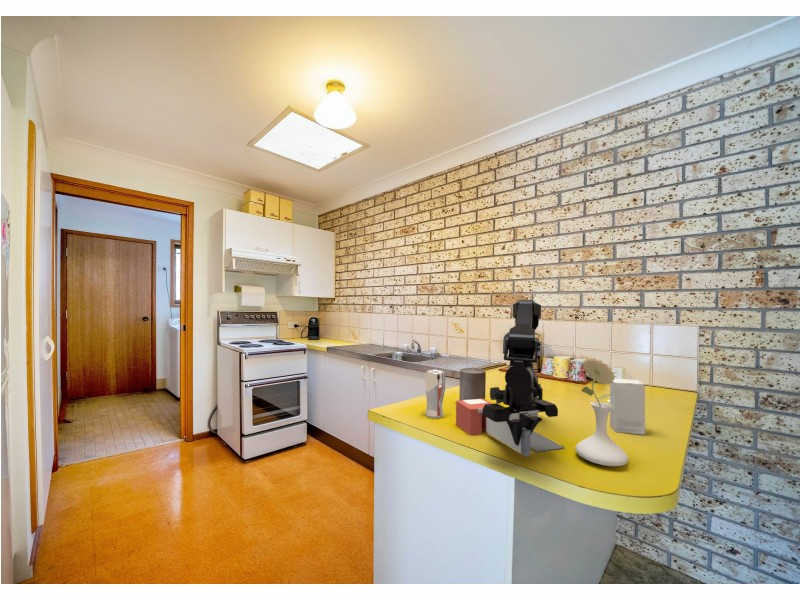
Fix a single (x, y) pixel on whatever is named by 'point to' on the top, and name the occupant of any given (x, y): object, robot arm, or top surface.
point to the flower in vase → (600, 421)
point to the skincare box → (627, 406)
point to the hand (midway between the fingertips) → (519, 444)
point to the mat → (542, 443)
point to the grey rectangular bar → (509, 436)
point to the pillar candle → (472, 384)
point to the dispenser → (471, 415)
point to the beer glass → (434, 392)
